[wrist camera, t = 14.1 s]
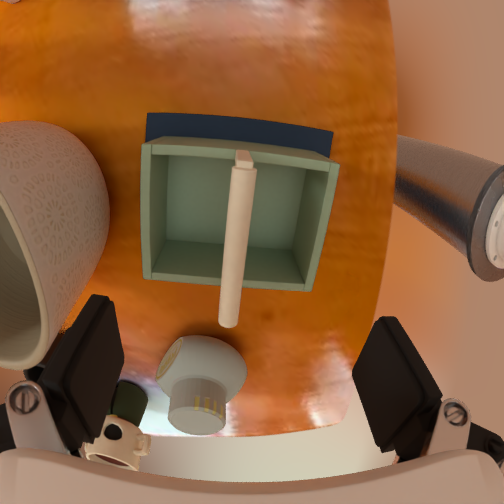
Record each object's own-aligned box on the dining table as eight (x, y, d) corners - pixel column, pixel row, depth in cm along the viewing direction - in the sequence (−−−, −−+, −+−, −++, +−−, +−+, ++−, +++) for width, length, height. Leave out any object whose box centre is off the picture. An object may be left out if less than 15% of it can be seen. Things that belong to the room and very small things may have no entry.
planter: (127, 101, 21) (14, 103, 8) (137, 274, 29) (85, 391, 15) (-5, 128, 20) (-109, 163, 6) (18, 267, 28) (-52, 346, 14)
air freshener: (194, 312, 31) (184, 384, 23) (255, 343, 34) (262, 413, 25) (154, 364, 35) (140, 428, 26) (208, 388, 38) (205, 450, 29)
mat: (332, 131, 24) (333, 132, 24) (304, 271, 30) (305, 273, 30) (148, 112, 22) (147, 112, 22) (145, 258, 28) (144, 260, 28)
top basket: (315, 151, 24) (373, 182, 14) (295, 254, 29) (328, 335, 18) (163, 135, 23) (111, 155, 12) (160, 243, 27) (123, 321, 17)
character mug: (147, 372, 36) (129, 455, 24) (170, 401, 39) (161, 477, 27) (89, 379, 36) (64, 449, 25) (114, 406, 40) (97, 472, 28)
